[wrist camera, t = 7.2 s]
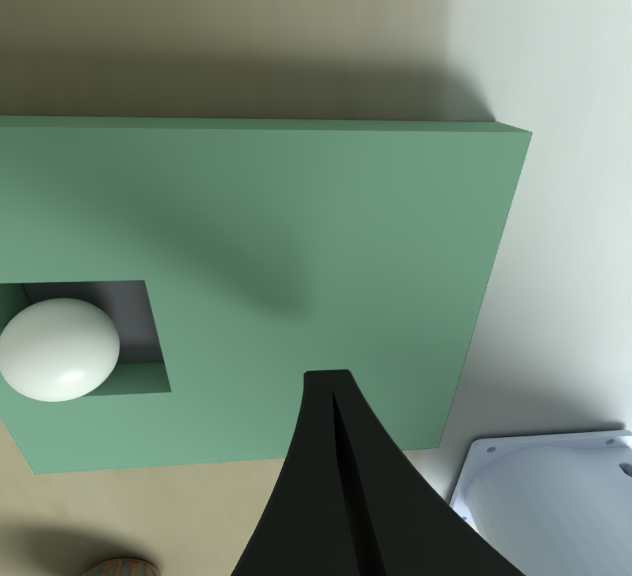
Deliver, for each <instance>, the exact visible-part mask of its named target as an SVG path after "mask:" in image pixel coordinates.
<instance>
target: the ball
mask: <svg viewBox="0 0 632 576" xmlns="http://www.w3.org/2000/svg"><path fill="white" fill-rule="evenodd" d="M119 351H120V340H119V335H118V332H117V329H116V327H115V325H114V323H113V321H112V320H111V319H110V317H109V316H108V315H107V314H106V313H105V312H103V311H102V310H101V309H99V308H98V307H96V306H95V305H93V304H90V303H88V302H85V301H82V300H78V299H72V298H55V299H49V300H45V301H41V302H38V303H36V304H33V305H31V306H29V307H27V308H25V309H24V310H22V311H21V312H20V313H18V314H17V315H16V316H15V317H14V318H13V319H12V320H11V321H10V322H9V323H8V325H7V326H6V327H5V329H4V330H3V332H2V334H1V336H0V372H1V374H2V376H3V377H4V379H5V381H6V382H7V383H8V384H9V385H10V386H11V387H12V388H13V389H15V390H16V391H17V392H19V393H21V394H22V395H24V396H26V397H29V398H32V399H35V400H40V401H47V402H59V401H66V400H71V399H75V398H78V397H80V396H83V395H85V394H87V393H89V392H90V391H92V390H94V389H95V388H97V387H98V386H99V385H100V384H101V383H103V382H104V381H105V380H106V378H107V377H108V376H109V375H110V373H111V372H112V370H113V369H114V367H115V365H116V362H117V360H118V356H119Z"/></svg>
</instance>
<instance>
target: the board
mask: <svg viewBox="0 0 632 576" xmlns="http://www.w3.org/2000/svg"><path fill="white" fill-rule="evenodd" d="M531 136H532V132H529V131H526V130H523V129H519V128H516V127H513V126H510V125H506V124H503V123H500V122H469V121H393V120H317V119H241V118H165V117H89V116H12V115H0V336H1V334H2V332H3V330H4V329H5V327H6V326H7V325H8V323H9V322H10V321H11V320H12V319H13V318H14V317H15V316H16V315H17V314H18V313H20V312H21V311H22V310H24V309H25V308H27V307H29V306H31V305H33V304H36V303H38V302H41V301H45V300H49V299H55V298H72V299H78V300H82V301H85V302H88V303H90V304H93V305H95V306H96V307H98V308H99V309H101V310H102V311H103V312H105V313H106V314H107V315H108V316H109V317H110V319H111V320H112V321H113V323H114V325H115V327H116V329H117V332H118V335H119V340H120V351H119V356H118V360H117V362H116V365H115V367H114V369H113V370H112V372H111V373H110V375H109V376H108V377H107V378H106V380H105V381H104V382H103V383H101V384H100V385H99V386H98V387H97V388H95V389H94V390H92V391H90V392H89V393H87V394H85V395H83V396H80V397H78V398H75V399H71V400H66V401H59V402H47V401H40V400H35V399H32V398H29V397H26V396H24V395H22V394H21V393H19V392H17V391H16V390H15V389H13V388H12V387H11V386H10V385H9V384H8V383H7V382H6V381H5V379H4V377H3V376H2V374H1V372H0V417H1V419H2V421H3V422H4V424H5V426H6V427H7V429H8V431H9V432H10V434H11V436H12V437H13V439H14V441H15V442H16V444H17V446H18V447H19V449H20V451H21V452H22V454H23V456H24V458H25V459H26V461H27V463H28V464H29V466H30V468H31V469H32V471H33V473H34V474H46V473H61V472H76V471H92V470H107V469H123V468H138V467H153V466H169V465H184V464H199V463H215V462H230V461H246V460H261V459H276V458H286V456H287V453H288V449H289V446H290V443H291V440H292V437H293V434H294V431H295V427H296V423H297V419H298V415H299V411H300V407H301V401H302V396H303V376H304V373H305V372H306V371H314V370H338V369H348V370H349V371H351V373H352V375H353V377H354V379H355V381H356V383H357V385H358V387H359V388H360V390H361V392H362V394H363V395H364V397H365V399H366V400H367V402H368V404H369V405H370V407H371V409H372V410H373V412H374V413H375V415H376V416H377V418H378V419H379V421H380V422H381V424H382V425H383V427H384V428H385V429H386V431H387V432H388V434H389V435H390V436H391V438H392V439H393V441H394V442H395V443H396V445H397V446H398V447H399V448H400V450H415V449H430V448H439V444H440V441H441V438H442V434H443V431H444V428H445V424H446V421H447V418H448V414H449V411H450V408H451V404H452V401H453V397H454V394H455V391H456V387H457V384H458V381H459V377H460V374H461V371H462V367H463V364H464V361H465V357H466V354H467V351H468V347H469V344H470V341H471V337H472V334H473V330H474V327H475V324H476V320H477V317H478V314H479V310H480V307H481V304H482V300H483V297H484V294H485V290H486V287H487V284H488V280H489V277H490V274H491V270H492V267H493V263H494V260H495V257H496V253H497V250H498V247H499V243H500V240H501V237H502V233H503V230H504V227H505V223H506V220H507V217H508V213H509V210H510V207H511V203H512V200H513V196H514V193H515V190H516V186H517V183H518V180H519V176H520V173H521V170H522V166H523V163H524V160H525V156H526V153H527V150H528V146H529V143H530V140H531Z"/></svg>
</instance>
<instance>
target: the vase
mask: <svg viewBox="0 0 632 576" xmlns="http://www.w3.org/2000/svg"><path fill="white" fill-rule="evenodd" d="M82 576H161V575H160V573H159V572H158V571H157V569H156V568H155V567H154V566H153V565H151V564H150V563H148V562H145V561H142V560H139V559H132V558H117V559H111V560H107V561H104V562H102V563H100V564H98V565H96V566H95V567H93V568H92V569H90V570H89V571H88V572H86V573H85V574H84V575H82Z"/></svg>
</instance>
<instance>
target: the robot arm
mask: <svg viewBox="0 0 632 576" xmlns="http://www.w3.org/2000/svg"><path fill="white" fill-rule="evenodd" d="M631 444H632V433H631V432H630V431H629V430H616V431H600V432H584V433H569V434H553V435H537V436H521V437H506V438H490V439H479V440H476V441H474V442H473V443H472V445H471V447H470V450H469V452H468V455H467V458H466V461H465V463H464V466H463V469H462V471H461V474H460V477H459V480H458V482H457V485H456V488H455V491H454V493H453V496H452V499H451V502H450V504H449V505H448V504H447V503H446V502H445V501H444V500H443V499H442V498H441V496H440V495H439V494H438V493H437V492H436V491H435V490H434V489H433V488H432V487H431V486H430V485H429V483H428V482H427V481H426V480H425V479H424V478H423V477H422V475H421V474H420V473H419V472H418V471H417V470H416V469H415V467H414V466H413V465H412V464H411V462H410V461H409V460H408V459H407V457H406V456H405V455H404V454H403V452H402V451H401V450H400V448H399V447H398V446H397V445H396V443H395V442H394V441H393V439H392V438H391V436H390V435H389V434H388V432H387V431H386V429H385V428H384V427H383V425H382V424H381V422H380V421H379V419H378V418H377V416H376V415H375V413H374V412H373V410H372V409H371V407H370V405H369V404H368V402H367V400H366V399H365V397H364V395H363V394H362V392H361V390H360V388H359V387H358V385H357V383H356V381H355V379H354V377H353V375H352V373H351V371H349V370H348V369H338V370H314V371H306V372H305V373H304V376H303V396H302V401H301V407H300V411H299V415H298V419H297V423H296V427H295V431H294V434H293V437H292V440H291V443H290V446H289V449H288V453H287V456H286V459H285V461H284V464H283V467H282V469H281V472H280V475H279V477H278V480H277V482H276V484H275V487H274V489H273V492H272V494H271V496H270V499H269V501H268V503H267V505H266V507H265V510H264V512H263V514H262V516H261V518H260V520H259V522H258V525H257V527H256V529H255V531H254V533H253V535H252V537H251V538H250V540H249V542H248V544H247V546H246V548H245V550H244V552H243V554H242V555H241V557H240V559H239V561H238V563H237V565H236V567H235V569H234V570H233V572H232V574H231V576H632V450H631V448H630V445H631ZM467 522H474V523H475V525H476V527H477V530H478V532H479V534H480V535H479V534H478V533H477V532H476V531H475V530H474V529H473V528H472V527H471V526H470V525H469V524H468V523H467Z"/></svg>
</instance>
